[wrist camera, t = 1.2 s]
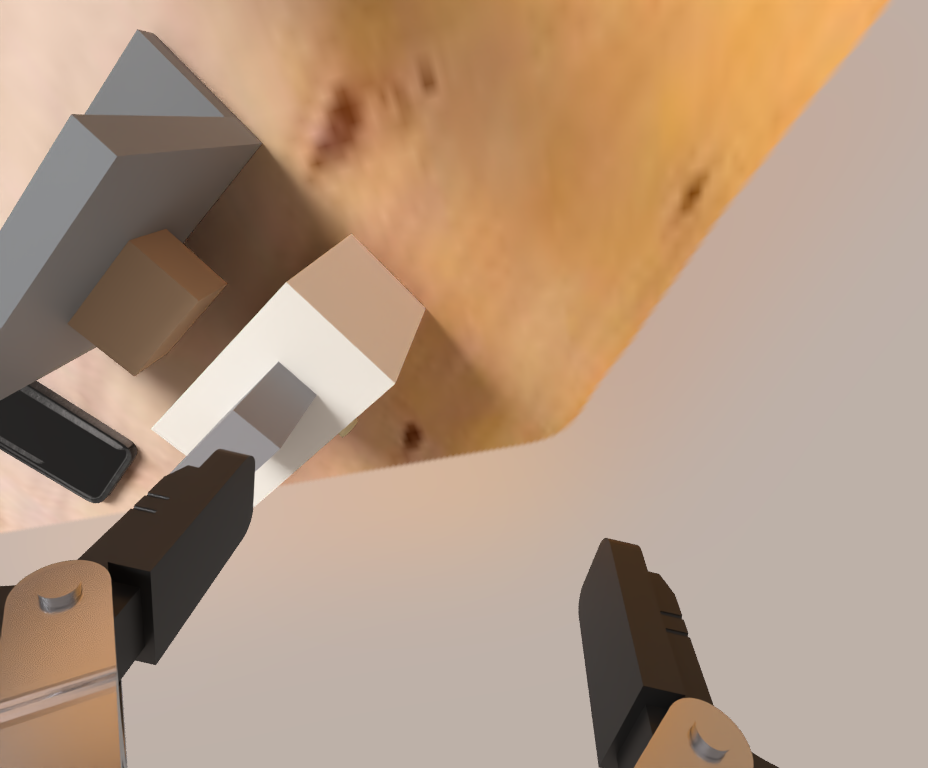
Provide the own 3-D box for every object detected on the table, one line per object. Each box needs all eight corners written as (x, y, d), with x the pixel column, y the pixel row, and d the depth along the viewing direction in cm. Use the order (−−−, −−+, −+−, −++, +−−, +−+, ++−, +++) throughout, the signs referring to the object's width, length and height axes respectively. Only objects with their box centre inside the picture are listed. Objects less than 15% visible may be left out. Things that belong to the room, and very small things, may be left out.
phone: (-45, 338, 40) (135, 452, 44) (-32, 333, 41) (144, 445, 45) (-74, 406, 43) (97, 508, 47) (-61, 400, 44) (106, 500, 48)
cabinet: (246, 345, 39) (86, 485, 24) (351, 233, 35) (238, 317, 20) (327, 415, 42) (228, 584, 27) (435, 318, 38) (391, 451, 22)
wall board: (6, 264, 38) (-240, 335, 25) (153, 33, 31) (-84, -27, 18) (155, 382, 41) (4, 495, 29) (317, 198, 35) (212, 242, 22)
